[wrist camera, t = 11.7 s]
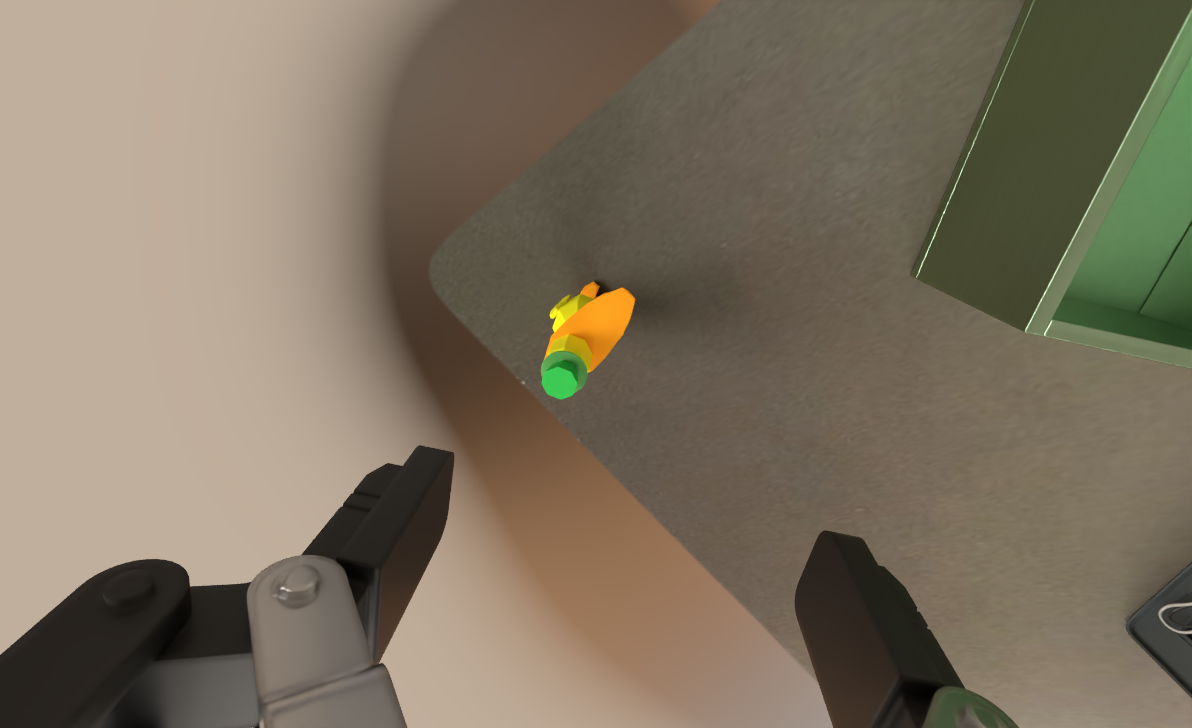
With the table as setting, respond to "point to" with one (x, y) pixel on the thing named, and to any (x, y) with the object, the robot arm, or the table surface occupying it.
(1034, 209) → the bin
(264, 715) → the robot arm
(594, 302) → the toy figure
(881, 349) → the table surface
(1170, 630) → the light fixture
